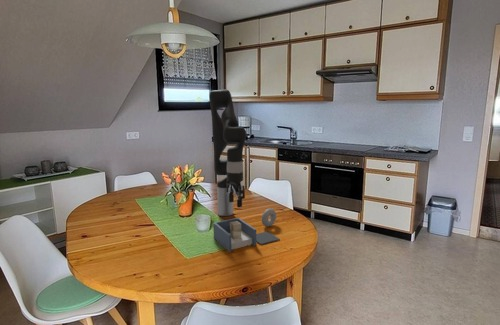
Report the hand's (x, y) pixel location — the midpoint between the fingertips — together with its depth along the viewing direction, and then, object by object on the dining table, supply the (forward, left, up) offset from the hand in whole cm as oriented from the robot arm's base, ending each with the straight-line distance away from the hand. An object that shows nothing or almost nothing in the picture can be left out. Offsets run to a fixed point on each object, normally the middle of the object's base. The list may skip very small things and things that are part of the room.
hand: (235, 204), depth 148 cm
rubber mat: (+2, +15, -19) cm, 24 cm away
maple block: (0, 0, -16) cm, 16 cm away
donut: (-10, +25, -19) cm, 33 cm away
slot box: (-1, 0, -19) cm, 19 cm away
